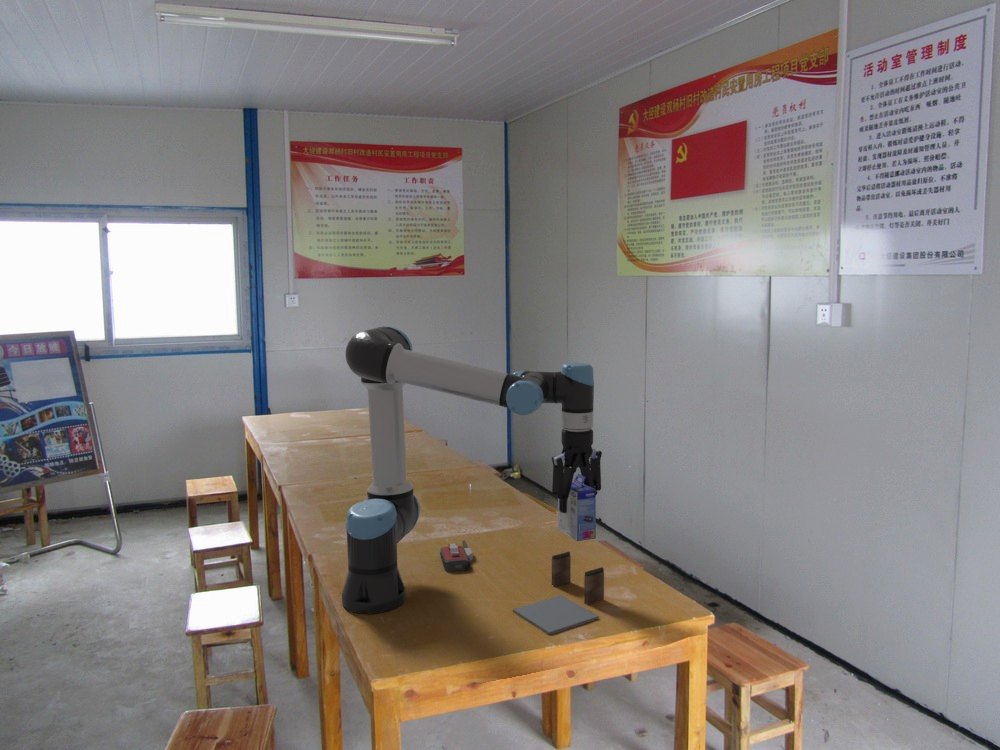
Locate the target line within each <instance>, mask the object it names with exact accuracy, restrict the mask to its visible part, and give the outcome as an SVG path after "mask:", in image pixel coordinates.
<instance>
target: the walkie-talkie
mask: <svg viewBox="0 0 1000 750" xmlns="http://www.w3.org/2000/svg"><path fill="white" fill-rule="evenodd" d="M461 544H462V546H461V545H458V544H457V543H448V544H447V545H448V546H443V547H441V548H440V551H439V556H440V559H441V562H442V565H443V569H444V571H445V572H456V571H459V572H460V571H468V570H469V569H471V568H472V565H471V561H473V558H474V556H473V555H474V554H473V551H472V547H468V544H467V542H466V540H462V541H461Z"/></svg>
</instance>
